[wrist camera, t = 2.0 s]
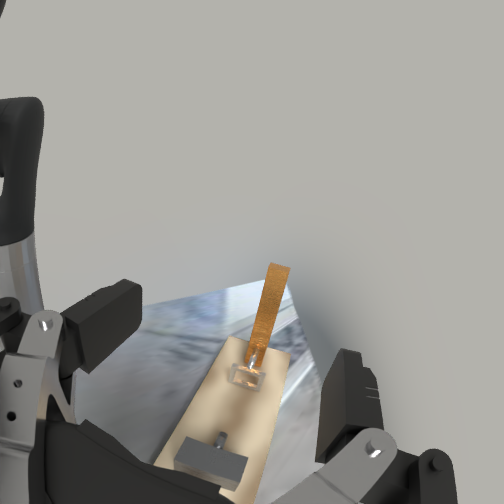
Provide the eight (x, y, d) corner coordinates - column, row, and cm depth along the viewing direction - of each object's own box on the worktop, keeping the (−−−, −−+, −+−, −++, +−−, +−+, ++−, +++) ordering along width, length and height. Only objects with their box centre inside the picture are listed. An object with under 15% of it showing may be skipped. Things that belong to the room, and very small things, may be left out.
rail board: (150, 478, 18) (148, 472, 17) (227, 345, 42) (229, 335, 42) (247, 513, 17) (251, 509, 16) (287, 363, 41) (290, 353, 40)
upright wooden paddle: (227, 381, 32) (251, 280, 27) (247, 339, 41) (269, 251, 36) (259, 391, 31) (292, 292, 26) (273, 347, 41) (299, 260, 36)
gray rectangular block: (174, 470, 19) (173, 459, 18) (194, 432, 24) (196, 418, 23) (234, 491, 18) (240, 482, 17) (248, 450, 23) (255, 437, 22)
